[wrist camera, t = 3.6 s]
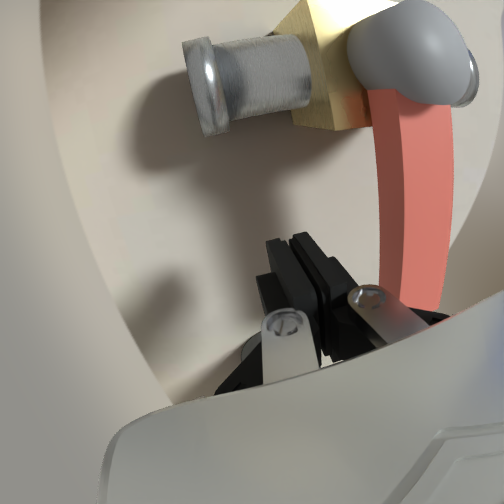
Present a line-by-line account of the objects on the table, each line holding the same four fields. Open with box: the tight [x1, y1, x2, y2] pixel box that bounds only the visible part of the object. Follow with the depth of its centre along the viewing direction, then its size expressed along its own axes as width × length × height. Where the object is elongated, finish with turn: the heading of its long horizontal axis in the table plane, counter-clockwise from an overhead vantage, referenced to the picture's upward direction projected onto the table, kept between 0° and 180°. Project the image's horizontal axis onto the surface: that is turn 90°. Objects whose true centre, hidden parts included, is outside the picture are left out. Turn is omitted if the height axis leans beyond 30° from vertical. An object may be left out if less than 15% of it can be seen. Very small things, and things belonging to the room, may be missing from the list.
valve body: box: [182, 0, 479, 138], centre depth 12 cm, size 6×16×6 cm, turn 102°
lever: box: [347, 0, 471, 311], centre depth 10 cm, size 14×4×3 cm, turn 12°
